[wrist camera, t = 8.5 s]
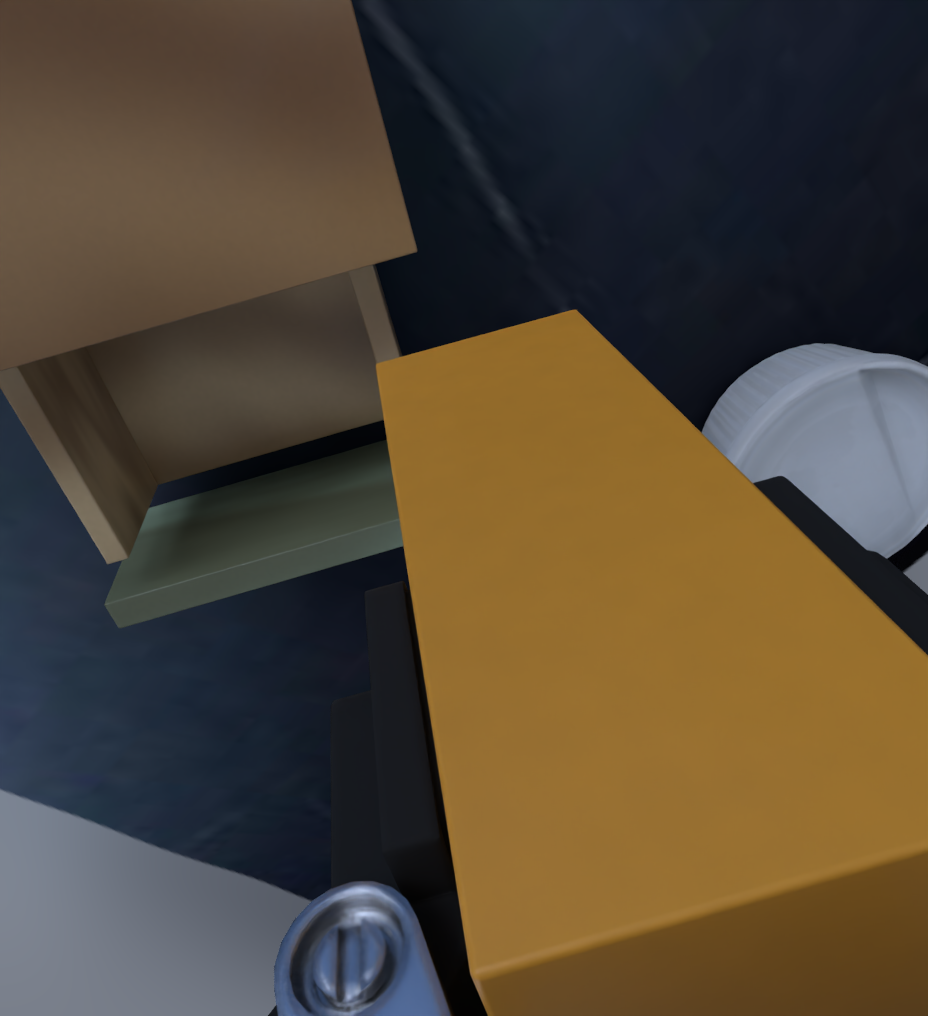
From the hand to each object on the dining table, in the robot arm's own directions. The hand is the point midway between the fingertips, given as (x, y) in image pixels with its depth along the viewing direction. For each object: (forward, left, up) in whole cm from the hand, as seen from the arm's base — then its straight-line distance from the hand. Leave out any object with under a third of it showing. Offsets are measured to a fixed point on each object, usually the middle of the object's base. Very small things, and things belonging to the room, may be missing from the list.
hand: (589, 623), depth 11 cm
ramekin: (+15, -13, -24) cm, 31 cm away
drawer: (-8, -2, -22) cm, 24 cm away
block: (0, 0, -7) cm, 7 cm away
